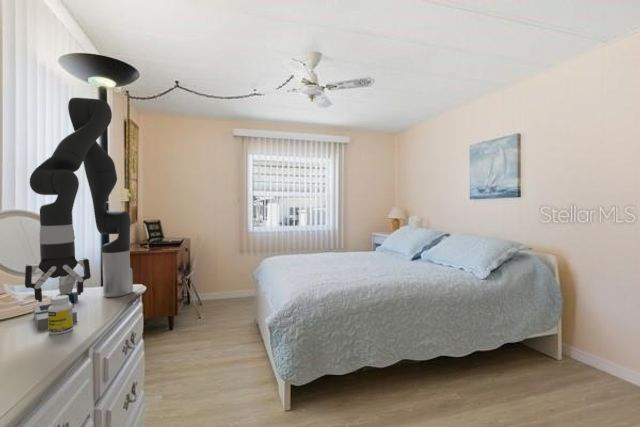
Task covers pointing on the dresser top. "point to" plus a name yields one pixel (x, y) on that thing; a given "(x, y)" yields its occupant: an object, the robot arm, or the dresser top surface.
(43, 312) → the gray rectangular box
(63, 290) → the stone bust sculpture
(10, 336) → the dresser top surface
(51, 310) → the supplement bottle
